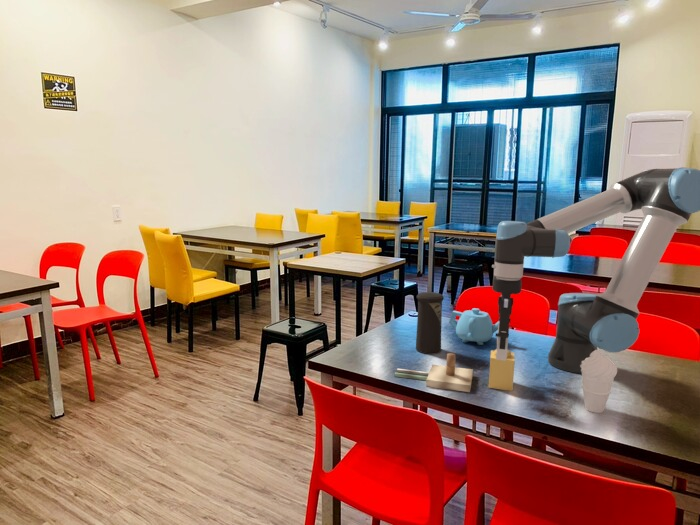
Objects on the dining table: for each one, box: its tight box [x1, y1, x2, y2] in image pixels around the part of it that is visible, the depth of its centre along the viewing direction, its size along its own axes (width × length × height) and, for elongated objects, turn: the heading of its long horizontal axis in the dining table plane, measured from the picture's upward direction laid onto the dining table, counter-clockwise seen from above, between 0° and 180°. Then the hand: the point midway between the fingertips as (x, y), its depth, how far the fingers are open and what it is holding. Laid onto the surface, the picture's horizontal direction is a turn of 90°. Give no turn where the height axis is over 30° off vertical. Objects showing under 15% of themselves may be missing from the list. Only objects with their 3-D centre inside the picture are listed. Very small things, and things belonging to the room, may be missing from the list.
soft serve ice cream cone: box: [580, 348, 618, 414], centre depth 122 cm, size 8×8×16 cm
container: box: [415, 291, 445, 355], centre depth 164 cm, size 9×9×20 cm
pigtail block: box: [393, 352, 474, 393], centre depth 141 cm, size 22×12×8 cm, turn 72°
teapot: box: [448, 307, 500, 346], centre depth 175 cm, size 20×17×12 cm
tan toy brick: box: [488, 348, 516, 392], centre depth 137 cm, size 6×6×10 cm
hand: (501, 351), depth 136 cm, fingers open, 13 cm apart
